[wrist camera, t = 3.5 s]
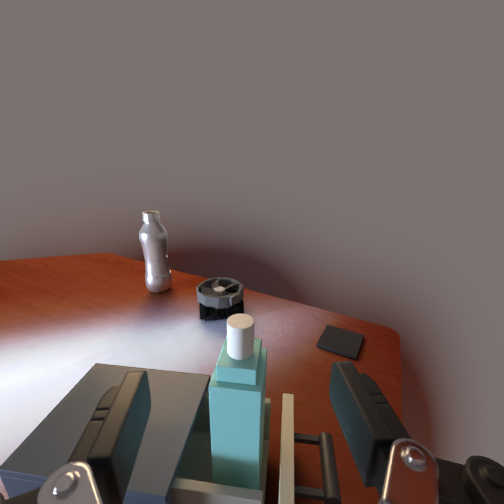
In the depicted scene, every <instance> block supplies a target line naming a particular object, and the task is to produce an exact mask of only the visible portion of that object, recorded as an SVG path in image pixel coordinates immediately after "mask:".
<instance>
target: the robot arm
mask: <svg viewBox="0 0 504 504" xmlns="http://www.w3.org/2000/svg"><path fill="white" fill-rule="evenodd" d="M329 394H330V400H331V404H332V406H333V409H334V411H335V414H336V416H337V419H338V421H339V424H340V426H341V429H342V431H343V434H344V436H345V439H346V441H347V443H348V446H349V448H350V451H351V453H352V456H353V458H354V461H355V463H356V466H357V468H358V471H359V473H360V476H361V478H362V481H363V483H364V485H365V487H372V486H376V488H377V491H378V493H379V495H380V496H379V500H378V504H504V467H503V466H502V465H500V464H499V463H497V462H495V461H494V460H491V459H489V458H486V457H483V456H471V457H470V458H468V459H467V461H466V464H465V465H462V464H458V463H454V462H450V461H446V460H442V459H439V458H436V457H434V456H433V455H432V453H431V452H430V451H429V450H428V449H427V448H426V447H424V446H423V445H422V444H420V443H418V442H416V441H414V440H412V439H411V437H410V436H409V434H408V433H407V431H406V430H405V428H404V426H403V425H402V423H401V422H400V420H399V418H398V417H397V415H396V414H395V412H394V411H393V409H392V407H391V406H390V404H388V401H387V400H386V398H385V396H384V395H382V392H381V390H380V389H379V387H378V385H377V384H376V382H375V381H374V380H372V379H371V378H370V377H369V376H368V375H367V374H365V373H358V371H357V369H356V368H355V366H354V364H353V363H352V362H351V361H343V362H333V364H332V372H331V380H330V388H329ZM150 411H151V394H150V387H149V380H148V374H147V371H129V372H127V373H126V374H125V376H124V378H123V380H122V382H121V385H119V386H112V387H111V388H110V389H109V390H108V391H107V392H106V393H105V394H104V395H103V396H102V397H101V399H100V401H99V403H98V405H97V406H96V408H95V411H94V412H93V414H92V416H91V418H90V421H89V422H88V424H87V426H86V427H85V429H84V431H83V433H82V435H81V437H80V439H79V441H78V443H77V445H76V447H75V448H74V450H73V452H72V454H71V456H70V458H69V460H68V462H67V463H66V465H64V466H62V467H60V468H59V469H57V470H56V471H55V472H53V473H52V474H51V475H50V476H49V477H48V478H47V480H46V481H45V482H44V483H43V485H42V486H40V487H38V488H36V489H34V490H31V491H29V492H26V493H23V494H21V495H18V496H15V497H13V498H10V499H7V500H5V499H4V497H3V495H2V494H1V493H0V504H123V501H124V497H125V494H126V491H127V487H128V484H129V481H130V478H131V474H132V471H133V468H134V465H135V461H136V458H137V455H138V451H139V448H140V445H141V442H142V438H143V435H144V432H145V428H146V425H147V422H148V419H149V415H150Z"/></svg>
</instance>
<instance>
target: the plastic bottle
mask: <svg viewBox="0 0 504 504" xmlns="http://www.w3.org/2000/svg"><path fill="white" fill-rule="evenodd" d="M159 220H160V216H159V212H158V211H146V212H143V221H145V222H144V225H143V226H142V228H141V230H140V232H139V239H140V242H141V245H142V248H143V253H144V257H145V267H146V276H145V283H146V286H147V288H148V289H149V290H150V291H151V292H162V291H166V290H168V289H169V288H170V287H171V285H172V275H171V272H170V269H169V264H168V259H167V231H166V229H165V228H164V226H163V225H162V224H161V223H160V222H159Z"/></svg>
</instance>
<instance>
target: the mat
mask: <svg viewBox="0 0 504 504" xmlns="http://www.w3.org/2000/svg"><path fill="white" fill-rule="evenodd" d="M363 337H364V335H362V334H358V333H355V332H351V331H348V330H344V329H341V328H337V327H334V326H330V325H327V326H326V328H325V330H324V332H323V334H322V335H321V337H320V339H319V341H318V343H317V347H320V348H323V349H326V350H329V351H332V352H335V353H338V354H341V355H344V356H347V357H350V358H353V359H357V356H358V353H359V350H360V347H361V344H362V341H363Z"/></svg>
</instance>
